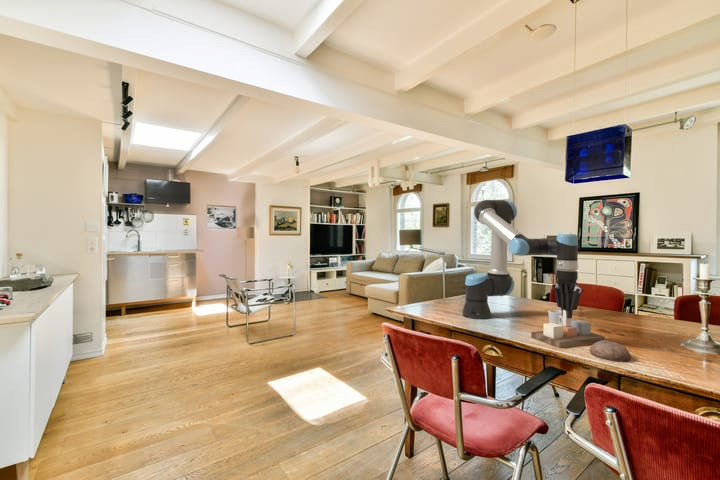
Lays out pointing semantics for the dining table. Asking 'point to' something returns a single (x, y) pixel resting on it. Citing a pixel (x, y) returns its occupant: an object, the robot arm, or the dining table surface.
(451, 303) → the dining table surface
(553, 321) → the cup
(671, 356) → the dining table surface
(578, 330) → the block slate
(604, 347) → the decorative stone
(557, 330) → the block cream
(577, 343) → the walnut board
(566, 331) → the block terracotta
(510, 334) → the dining table surface
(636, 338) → the dining table surface
